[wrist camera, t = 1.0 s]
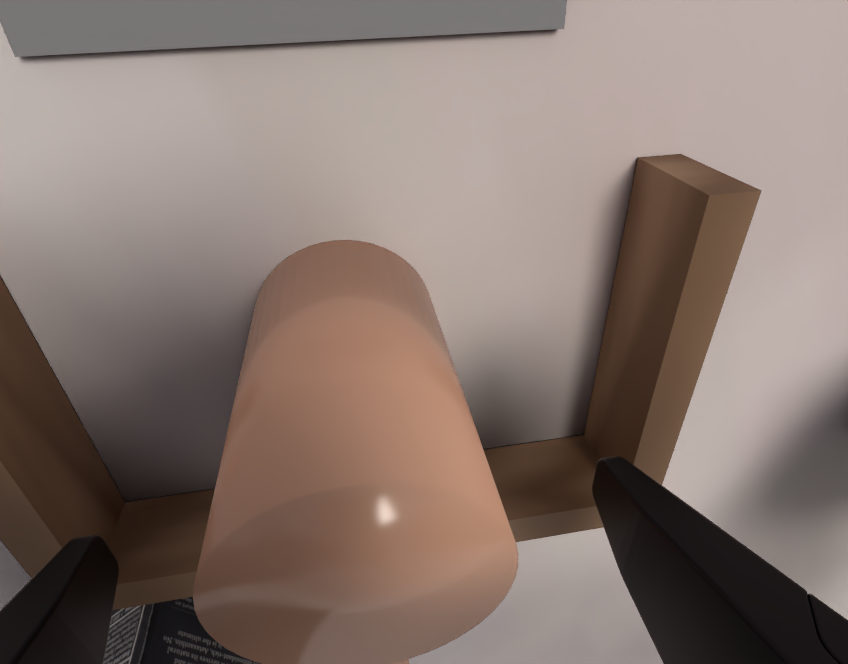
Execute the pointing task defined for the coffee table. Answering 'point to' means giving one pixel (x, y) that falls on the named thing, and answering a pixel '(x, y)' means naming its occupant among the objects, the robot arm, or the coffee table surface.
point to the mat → (254, 22)
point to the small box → (164, 637)
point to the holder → (510, 466)
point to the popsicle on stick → (350, 476)
